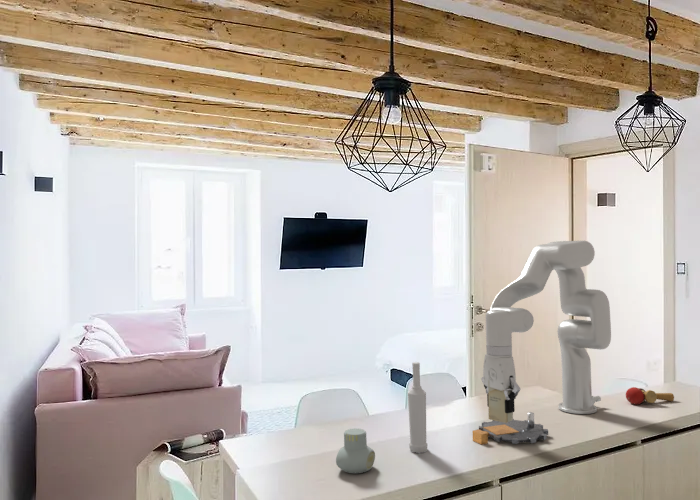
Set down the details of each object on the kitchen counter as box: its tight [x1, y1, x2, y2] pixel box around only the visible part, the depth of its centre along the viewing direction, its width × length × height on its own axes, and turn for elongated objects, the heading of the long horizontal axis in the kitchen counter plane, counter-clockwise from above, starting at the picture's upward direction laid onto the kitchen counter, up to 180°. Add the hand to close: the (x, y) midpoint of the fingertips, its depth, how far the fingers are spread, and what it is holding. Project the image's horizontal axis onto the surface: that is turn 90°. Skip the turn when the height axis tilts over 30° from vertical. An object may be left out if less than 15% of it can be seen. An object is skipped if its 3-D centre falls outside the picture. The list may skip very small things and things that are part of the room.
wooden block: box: [472, 428, 489, 446], centre depth 167 cm, size 17×7×3 cm, turn 116°
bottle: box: [407, 361, 428, 454], centre depth 159 cm, size 5×5×25 cm
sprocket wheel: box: [478, 411, 549, 445], centre depth 169 cm, size 20×20×5 cm
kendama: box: [625, 386, 675, 405], centre depth 201 cm, size 8×6×18 cm
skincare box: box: [488, 380, 514, 423], centre depth 168 cm, size 6×4×12 cm
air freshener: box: [335, 428, 376, 474], centre depth 145 cm, size 11×8×10 cm
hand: (500, 408), depth 168 cm, fingers closed on skincare box, 7 cm apart
